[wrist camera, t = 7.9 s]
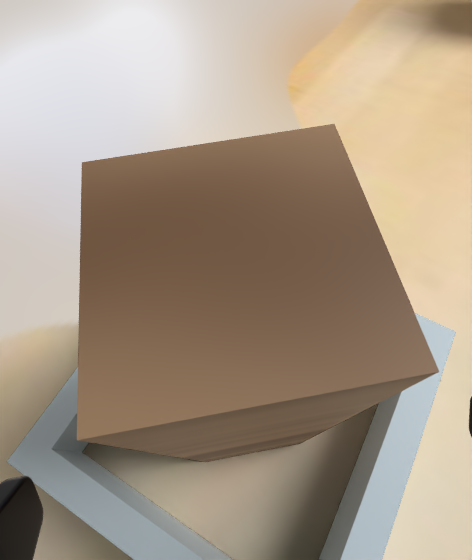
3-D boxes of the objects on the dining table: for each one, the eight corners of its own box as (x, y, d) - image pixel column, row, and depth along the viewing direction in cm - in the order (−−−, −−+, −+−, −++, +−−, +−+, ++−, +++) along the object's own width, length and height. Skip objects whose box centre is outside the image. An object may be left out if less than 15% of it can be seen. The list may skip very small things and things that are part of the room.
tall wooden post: (300, 443, 17) (439, 371, 5) (205, 461, 17) (76, 440, 4) (278, 350, 19) (334, 124, 7) (193, 366, 19) (81, 162, 6)
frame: (316, 665, 14) (332, 712, 11) (44, 463, 17) (6, 462, 14) (426, 351, 19) (455, 331, 16) (200, 243, 22) (194, 212, 19)
